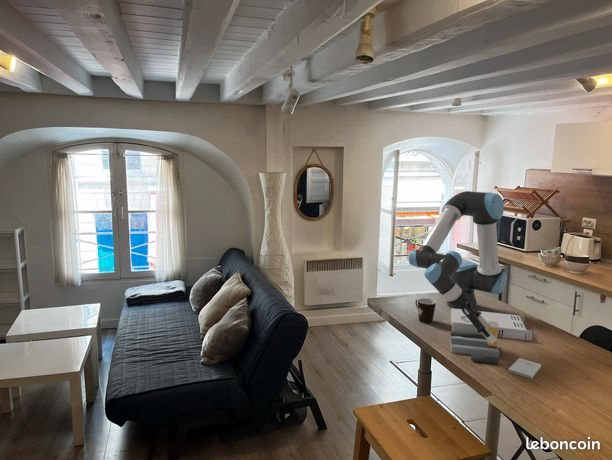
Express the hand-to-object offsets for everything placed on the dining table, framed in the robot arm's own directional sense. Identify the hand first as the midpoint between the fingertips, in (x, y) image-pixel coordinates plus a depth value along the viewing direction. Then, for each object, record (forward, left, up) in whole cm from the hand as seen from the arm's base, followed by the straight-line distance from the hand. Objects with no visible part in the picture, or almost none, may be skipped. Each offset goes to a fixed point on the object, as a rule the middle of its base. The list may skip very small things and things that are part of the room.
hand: (491, 335), depth 180 cm
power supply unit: (-16, -21, -8) cm, 28 cm away
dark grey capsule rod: (+8, +7, -7) cm, 13 cm away
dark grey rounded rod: (0, -13, -7) cm, 15 cm away
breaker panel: (+5, -4, -7) cm, 10 cm away
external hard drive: (-3, +16, -8) cm, 18 cm away
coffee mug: (+7, -38, -7) cm, 39 cm away
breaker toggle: (-1, 0, -4) cm, 4 cm away
